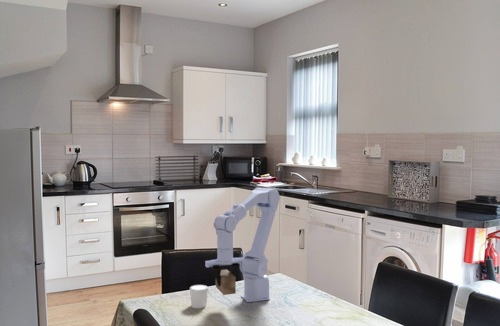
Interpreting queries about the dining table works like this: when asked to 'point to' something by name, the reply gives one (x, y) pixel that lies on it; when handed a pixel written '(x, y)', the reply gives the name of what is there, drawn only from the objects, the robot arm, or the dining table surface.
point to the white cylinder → (198, 296)
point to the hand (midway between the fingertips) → (225, 284)
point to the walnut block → (227, 283)
